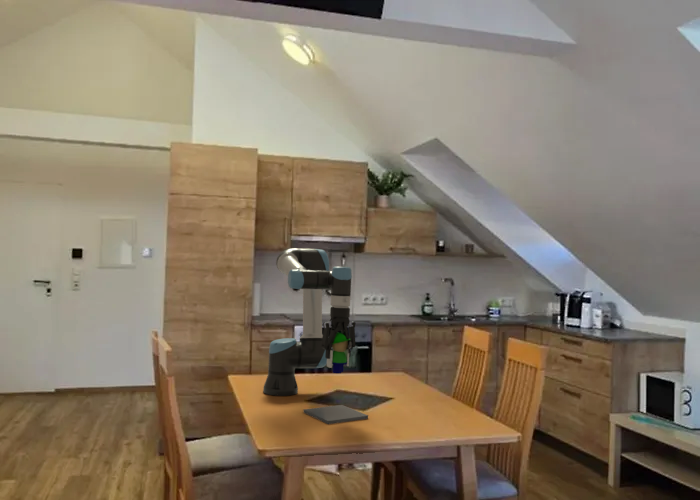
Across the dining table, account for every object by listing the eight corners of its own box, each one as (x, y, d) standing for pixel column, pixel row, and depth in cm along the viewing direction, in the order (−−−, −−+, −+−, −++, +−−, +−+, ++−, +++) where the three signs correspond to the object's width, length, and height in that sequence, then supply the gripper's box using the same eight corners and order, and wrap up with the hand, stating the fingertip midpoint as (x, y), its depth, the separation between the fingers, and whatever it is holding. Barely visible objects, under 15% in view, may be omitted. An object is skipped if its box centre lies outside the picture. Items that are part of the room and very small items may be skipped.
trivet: (303, 412, 235) (303, 409, 235) (341, 407, 245) (342, 404, 245) (328, 424, 220) (328, 421, 220) (368, 418, 230) (368, 415, 230)
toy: (346, 374, 228) (348, 334, 228) (324, 372, 229) (325, 333, 229) (351, 370, 236) (352, 332, 236) (329, 368, 238) (331, 330, 238)
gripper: (323, 307, 224) (320, 370, 224) (366, 307, 236) (364, 366, 235) (313, 306, 231) (310, 366, 230) (355, 305, 242) (353, 363, 241)
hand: (337, 366), depth 233 cm, fingers closed on toy, 7 cm apart
